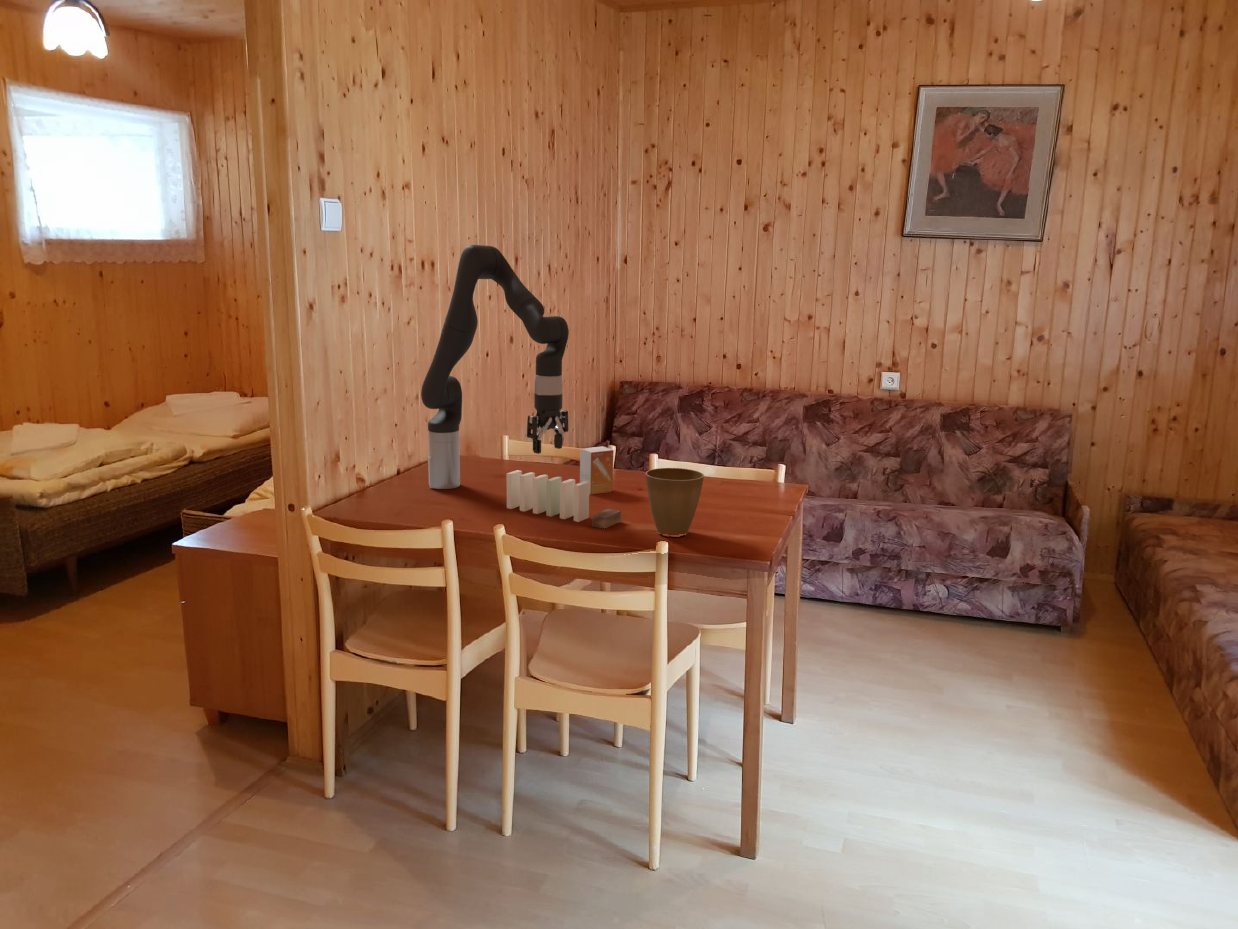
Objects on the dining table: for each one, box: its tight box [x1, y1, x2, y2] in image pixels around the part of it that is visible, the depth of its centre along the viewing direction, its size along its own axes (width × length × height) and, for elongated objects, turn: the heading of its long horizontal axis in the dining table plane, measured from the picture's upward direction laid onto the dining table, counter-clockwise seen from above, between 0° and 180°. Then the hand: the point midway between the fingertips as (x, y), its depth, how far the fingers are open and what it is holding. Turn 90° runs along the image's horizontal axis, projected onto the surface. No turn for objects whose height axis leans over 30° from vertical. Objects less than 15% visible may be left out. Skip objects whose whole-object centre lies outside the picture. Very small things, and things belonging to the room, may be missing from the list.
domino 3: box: [532, 473, 549, 515], centre depth 267 cm, size 2×5×10 cm, turn 149°
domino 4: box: [545, 476, 563, 517], centre depth 265 cm, size 2×5×10 cm, turn 149°
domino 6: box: [573, 481, 590, 523], centre depth 261 cm, size 2×5×10 cm, turn 149°
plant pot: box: [645, 467, 705, 535], centre depth 249 cm, size 15×15×16 cm
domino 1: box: [506, 469, 523, 510], centre depth 272 cm, size 2×5×10 cm, turn 149°
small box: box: [579, 446, 614, 496], centre depth 290 cm, size 8×6×13 cm
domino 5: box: [559, 478, 576, 520], centre depth 263 cm, size 2×5×10 cm, turn 149°
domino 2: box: [519, 471, 536, 512], centre depth 270 cm, size 2×5×10 cm, turn 149°
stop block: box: [591, 508, 622, 530], centre depth 257 cm, size 4×8×3 cm, turn 149°
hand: (547, 450), depth 263 cm, fingers open, 8 cm apart
